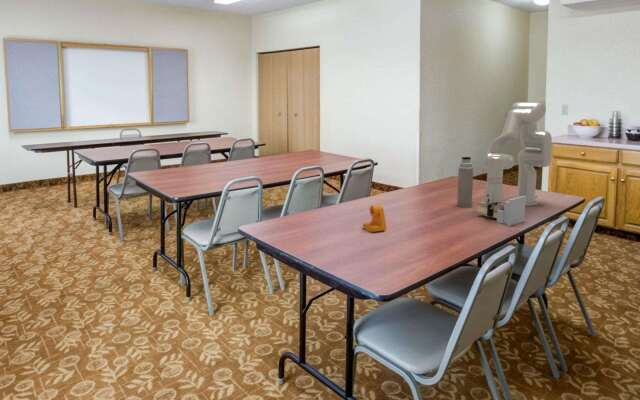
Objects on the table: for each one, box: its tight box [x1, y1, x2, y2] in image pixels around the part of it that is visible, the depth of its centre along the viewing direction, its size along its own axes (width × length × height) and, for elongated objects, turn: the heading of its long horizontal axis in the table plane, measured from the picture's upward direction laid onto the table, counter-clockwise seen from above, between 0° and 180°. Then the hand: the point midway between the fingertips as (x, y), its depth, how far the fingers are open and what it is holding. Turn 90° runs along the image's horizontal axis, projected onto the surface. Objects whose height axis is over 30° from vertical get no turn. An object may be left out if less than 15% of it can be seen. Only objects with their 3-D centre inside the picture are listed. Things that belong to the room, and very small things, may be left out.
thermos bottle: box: [456, 156, 474, 208], centre depth 283 cm, size 8×8×28 cm
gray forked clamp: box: [496, 196, 526, 227], centre depth 249 cm, size 8×13×13 cm, turn 128°
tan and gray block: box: [476, 201, 504, 219], centre depth 256 cm, size 5×16×6 cm, turn 37°
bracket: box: [362, 204, 387, 233], centre depth 240 cm, size 11×7×12 cm, turn 23°
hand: (492, 215), depth 257 cm, fingers closed on tan and gray block, 4 cm apart
